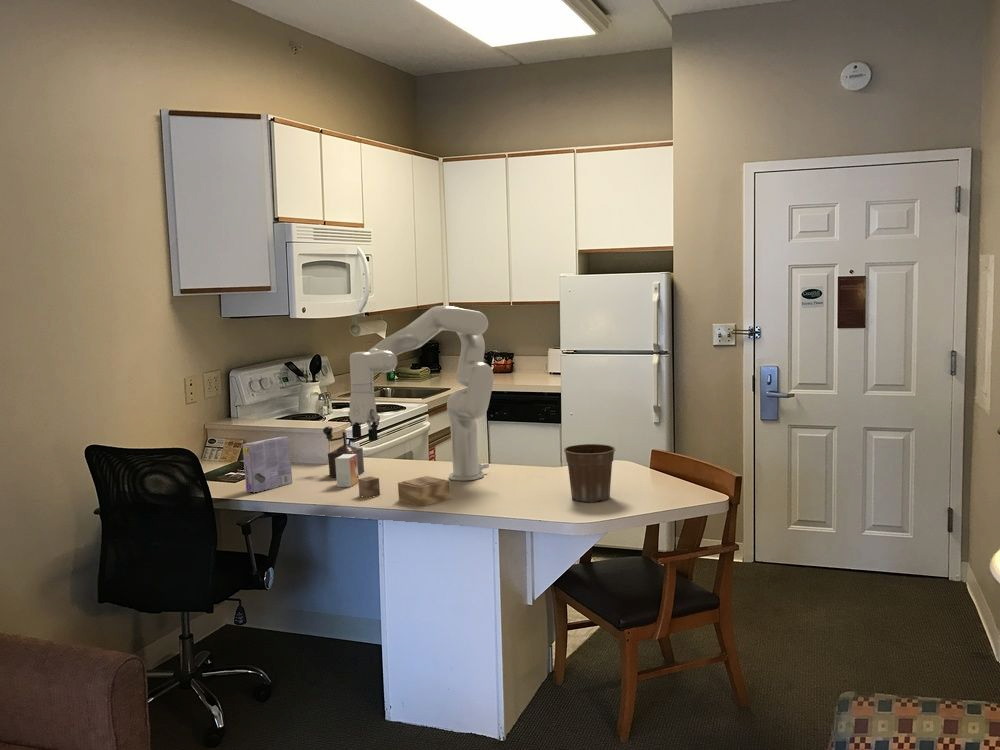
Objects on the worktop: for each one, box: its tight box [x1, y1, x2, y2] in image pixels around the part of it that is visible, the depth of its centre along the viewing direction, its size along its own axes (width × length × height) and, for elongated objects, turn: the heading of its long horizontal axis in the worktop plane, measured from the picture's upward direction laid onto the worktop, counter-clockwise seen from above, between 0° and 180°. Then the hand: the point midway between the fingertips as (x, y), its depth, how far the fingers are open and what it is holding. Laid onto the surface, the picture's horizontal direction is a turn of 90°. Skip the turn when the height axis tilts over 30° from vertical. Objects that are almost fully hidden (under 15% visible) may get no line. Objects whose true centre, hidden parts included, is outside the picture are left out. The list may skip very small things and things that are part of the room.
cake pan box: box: [242, 436, 293, 494], centre depth 328 cm, size 19×5×18 cm, turn 145°
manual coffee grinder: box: [322, 426, 365, 478], centre depth 345 cm, size 16×11×18 cm
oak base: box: [397, 475, 451, 507], centre depth 299 cm, size 12×12×6 cm
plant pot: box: [563, 443, 616, 503], centre depth 290 cm, size 16×16×16 cm
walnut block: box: [358, 475, 381, 499], centre depth 309 cm, size 5×5×6 cm
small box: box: [335, 454, 360, 488], centre depth 327 cm, size 8×6×10 cm
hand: (364, 439), depth 307 cm, fingers open, 9 cm apart
